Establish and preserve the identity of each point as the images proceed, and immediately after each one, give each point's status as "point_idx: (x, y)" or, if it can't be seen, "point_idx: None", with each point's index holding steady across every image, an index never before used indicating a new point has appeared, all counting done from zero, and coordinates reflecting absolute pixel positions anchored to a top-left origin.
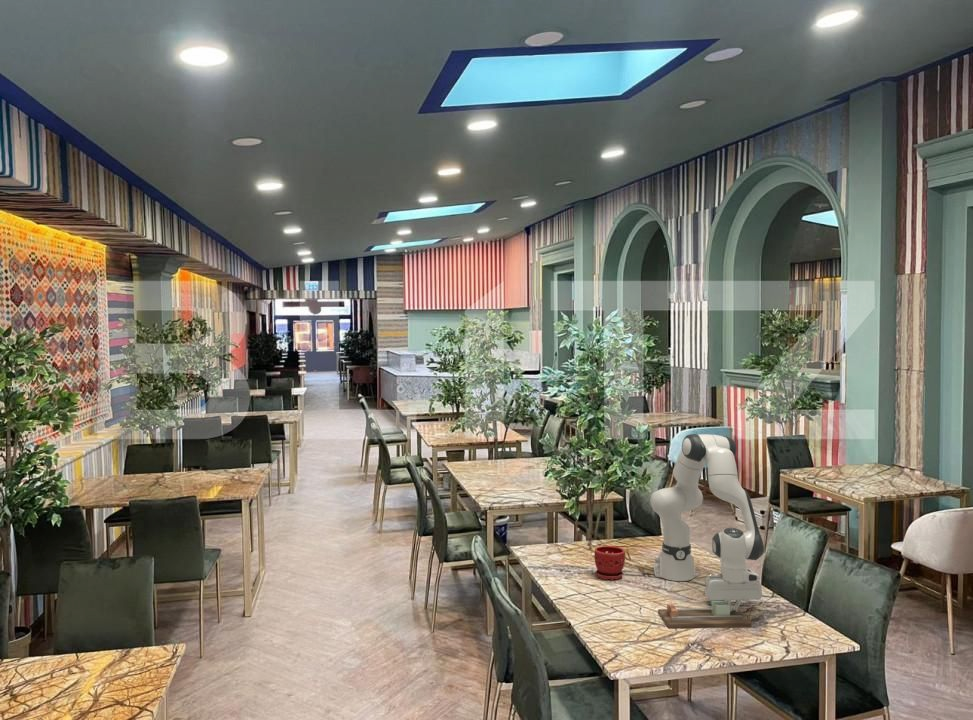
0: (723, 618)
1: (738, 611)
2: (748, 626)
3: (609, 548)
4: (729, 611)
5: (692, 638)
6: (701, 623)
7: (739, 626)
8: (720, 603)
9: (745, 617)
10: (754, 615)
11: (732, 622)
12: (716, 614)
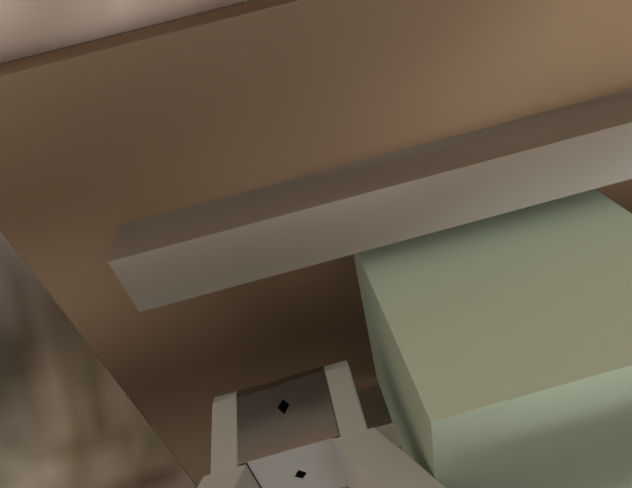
0: (501, 137)
1: (200, 451)
2: (13, 62)
3: None
4: (396, 310)
5: None
6: None
7: (195, 15)
8: (586, 465)
9: (89, 321)
10: (16, 454)
11: (343, 37)
12: (618, 209)
